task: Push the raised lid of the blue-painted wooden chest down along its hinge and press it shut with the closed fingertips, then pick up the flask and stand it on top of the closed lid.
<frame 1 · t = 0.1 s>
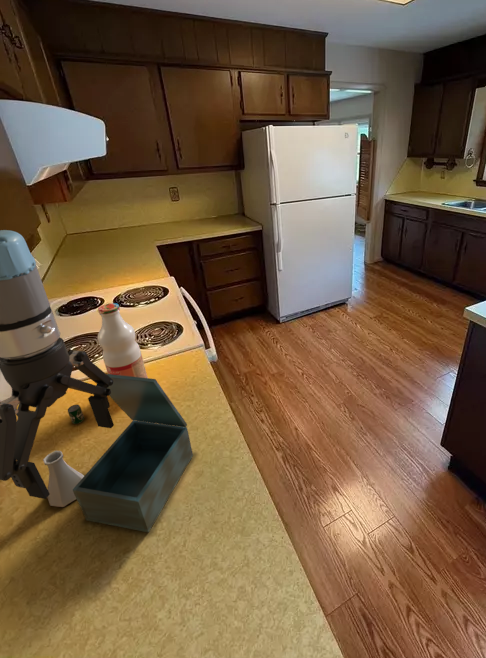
hand: (76, 456, 54), 19 cm above the counter, tool pointing down, fingers open, 13 cm apart
beer can: (78, 421, 87), on the counter
chest: (144, 484, 70), on the counter
fruit juice: (133, 392, 98), on the counter
flask: (69, 491, 69), on the counter
lid: (142, 401, 67), point 18 cm above the counter, hinge at 70.0°
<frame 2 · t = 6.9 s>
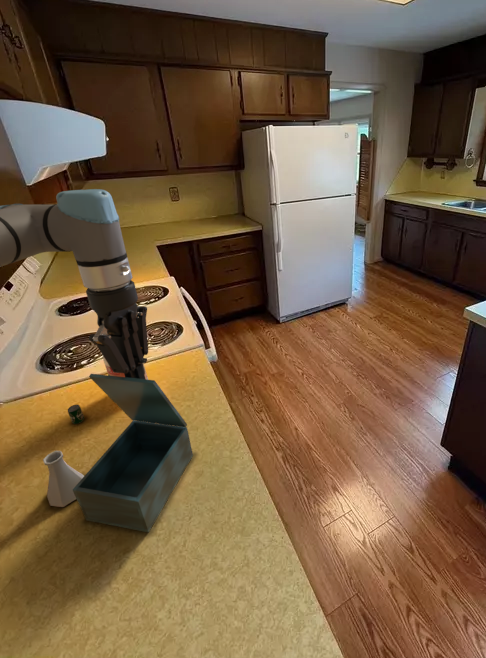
hand: (140, 392, 67), 20 cm above the counter, tool pointing down, fingers closed
lid: (142, 402, 67), point 18 cm above the counter, hinge at 69.1°, touching gripper
everything else where it was.
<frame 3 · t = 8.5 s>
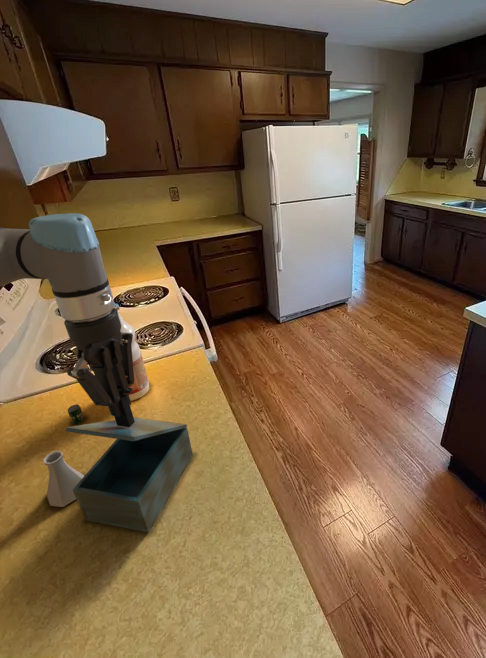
hand: (126, 423, 63), 17 cm above the counter, tool pointing down, fingers closed
lid: (133, 427, 65), point 15 cm above the counter, hinge at 37.8°, touching gripper
everything else where it was.
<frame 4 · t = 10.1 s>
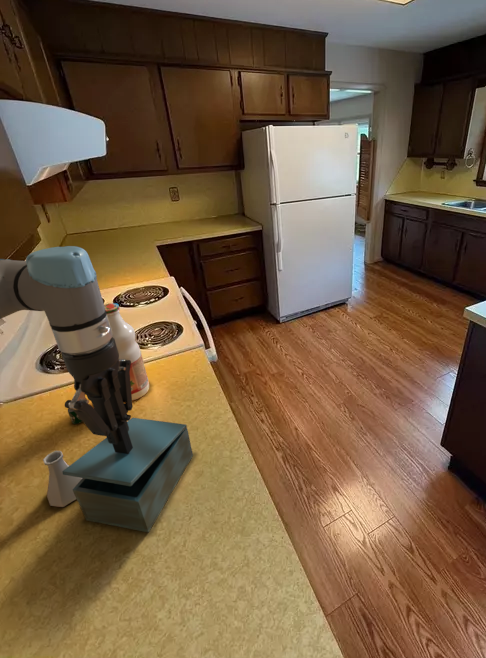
hand: (124, 449, 63), 13 cm above the counter, tool pointing down, fingers closed
lid: (131, 446, 65), point 11 cm above the counter, hinge at 13.7°, touching gripper
everything else where it was.
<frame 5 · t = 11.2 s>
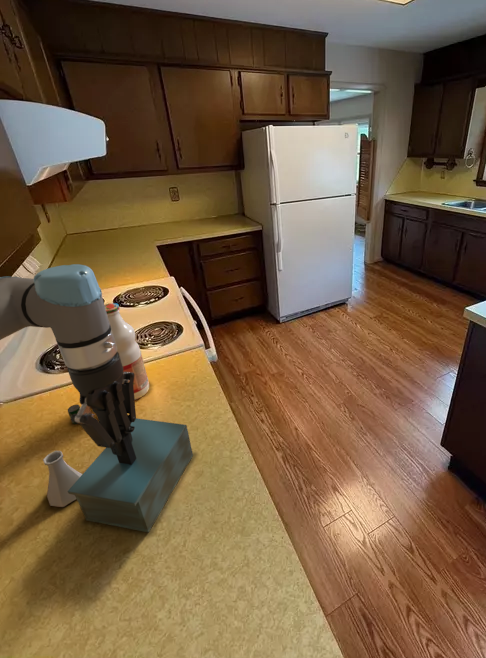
hand: (127, 460, 64), 10 cm above the counter, tool pointing down, fingers closed
lid: (133, 455, 66), point 9 cm above the counter, hinge at -0.2°, touching chest, gripper
everything else where it was.
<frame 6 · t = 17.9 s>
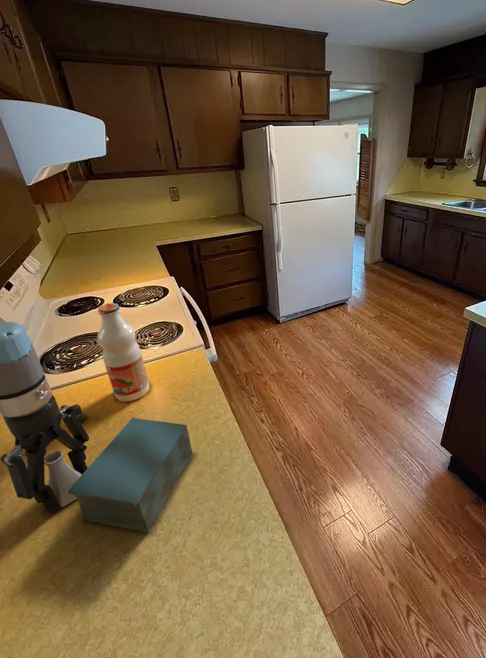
hand: (69, 490, 69), 0 cm above the counter, tool pointing down, fingers closed on flask, 7 cm apart
flask: (69, 491, 69), on the counter, touching gripper
lid: (133, 455, 66), point 9 cm above the counter, hinge at -0.2°, touching chest
everything else where it was.
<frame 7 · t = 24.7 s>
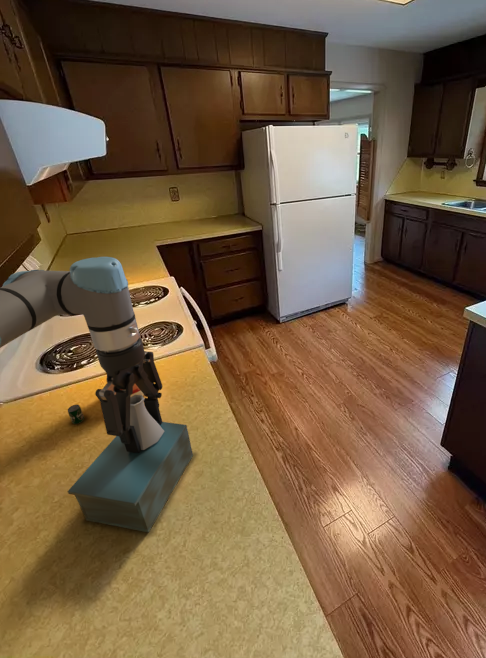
hand: (145, 436, 69), 10 cm above the counter, tool pointing down, fingers closed on flask, 7 cm apart
flask: (145, 437, 69), point 9 cm above the counter, touching gripper
everything else where it was.
when the fingers open (11 cm above the counter, at t = 30.1 s): flask stays where it is, resting on lid.
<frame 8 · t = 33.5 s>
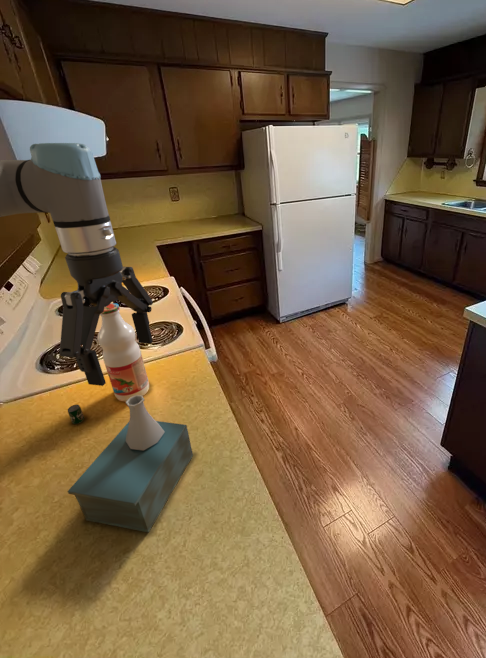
hand: (124, 361, 61), 29 cm above the counter, tool pointing down, fingers open, 13 cm apart
flask: (146, 438, 70), point 9 cm above the counter, touching lid
lid: (133, 455, 66), point 9 cm above the counter, hinge at -0.2°, touching chest, flask
everything else where it was.
at the end: lid at +0° (first picture: +70°); flask inside the target area on the chest (0.3 cm from its centre), point 9.2 cm above the chest's base; flask tilted 0° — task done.
